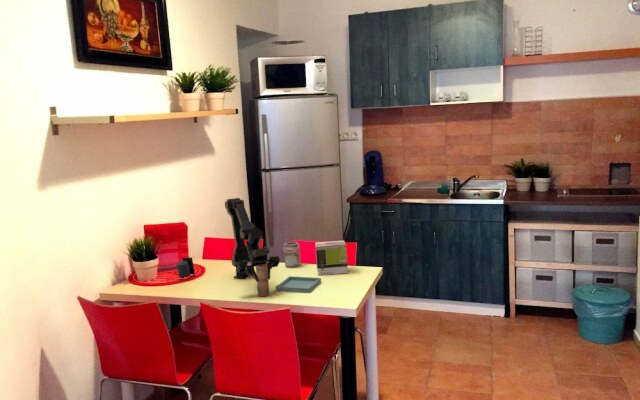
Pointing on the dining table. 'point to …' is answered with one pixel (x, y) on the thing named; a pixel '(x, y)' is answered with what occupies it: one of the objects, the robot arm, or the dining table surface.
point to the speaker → (185, 267)
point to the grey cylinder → (292, 254)
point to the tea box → (331, 257)
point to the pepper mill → (262, 279)
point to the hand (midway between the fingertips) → (263, 280)
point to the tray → (298, 284)
